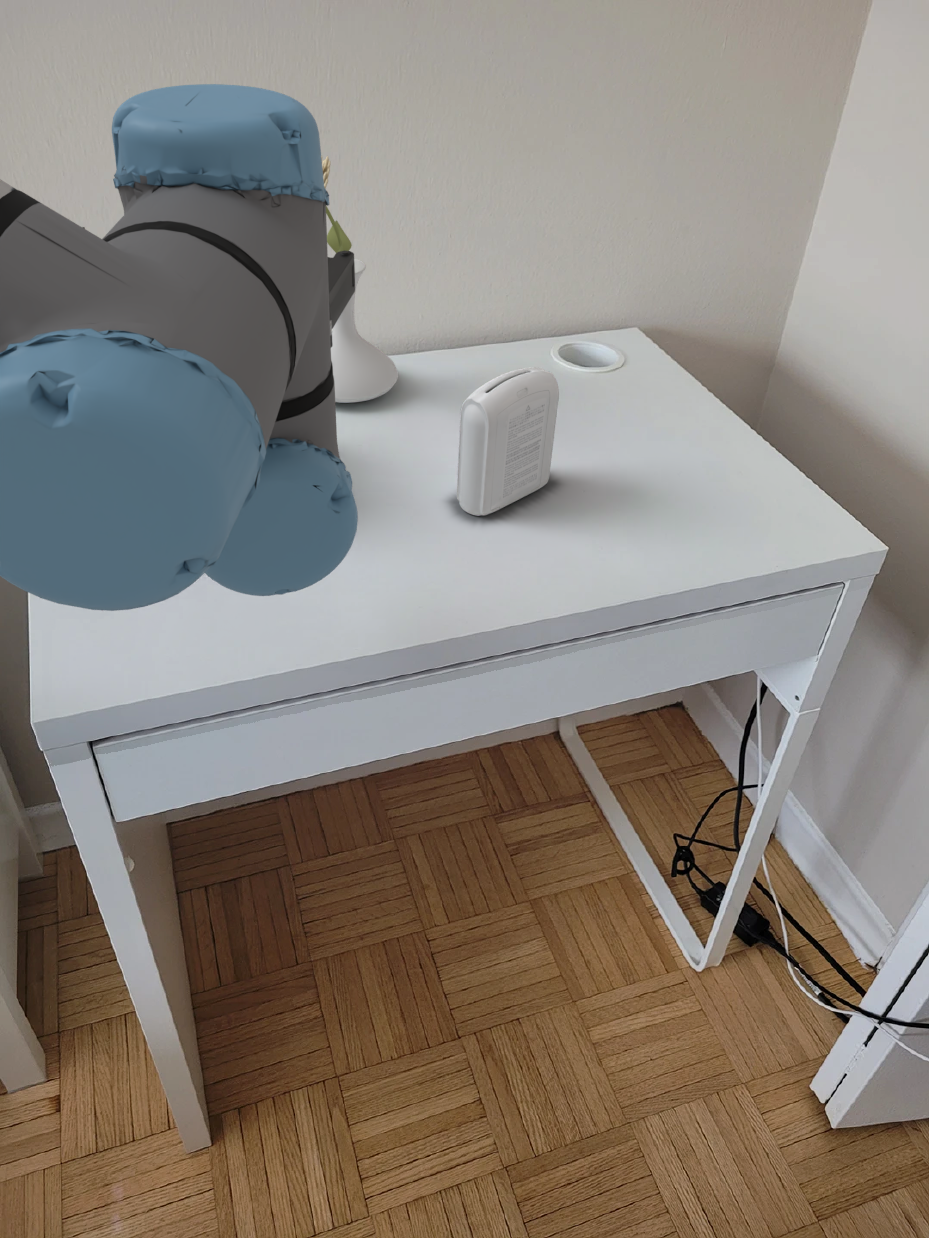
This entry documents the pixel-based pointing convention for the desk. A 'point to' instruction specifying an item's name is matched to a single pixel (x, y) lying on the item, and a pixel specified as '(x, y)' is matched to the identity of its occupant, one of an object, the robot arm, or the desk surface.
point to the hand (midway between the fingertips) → (185, 241)
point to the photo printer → (506, 439)
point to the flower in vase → (354, 338)
